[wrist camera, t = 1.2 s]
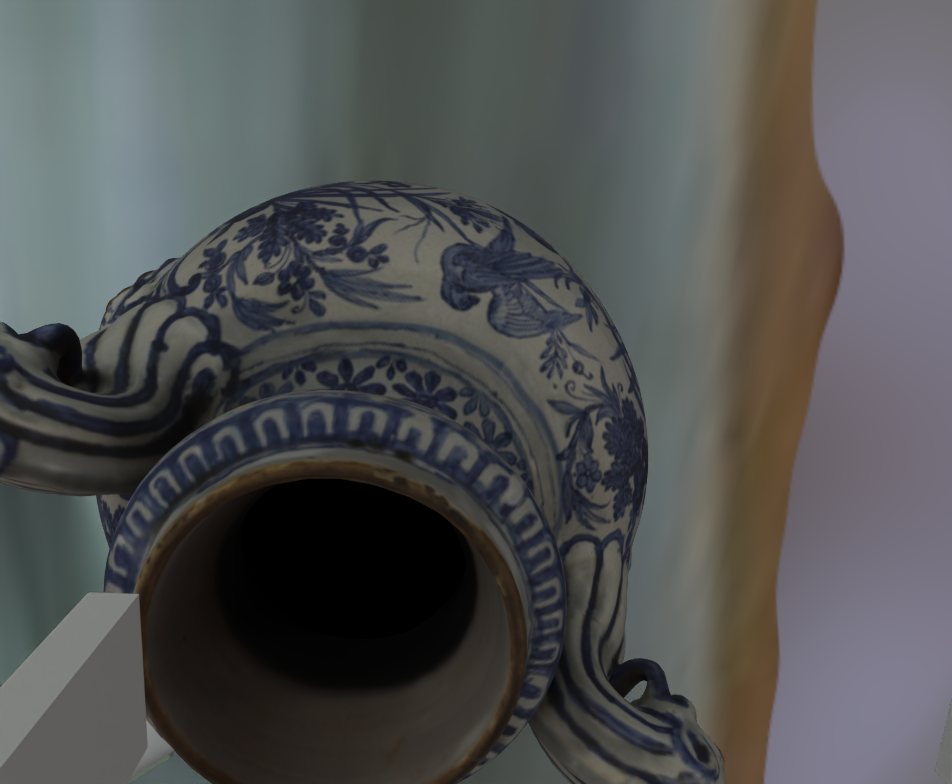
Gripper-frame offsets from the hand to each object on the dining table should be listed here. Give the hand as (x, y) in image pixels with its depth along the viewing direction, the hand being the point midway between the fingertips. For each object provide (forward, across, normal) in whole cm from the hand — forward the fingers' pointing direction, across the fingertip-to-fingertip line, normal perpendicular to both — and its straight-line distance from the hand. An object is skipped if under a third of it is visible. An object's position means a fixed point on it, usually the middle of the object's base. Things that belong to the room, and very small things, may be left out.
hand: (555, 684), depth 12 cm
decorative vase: (+31, -4, -2) cm, 31 cm away
